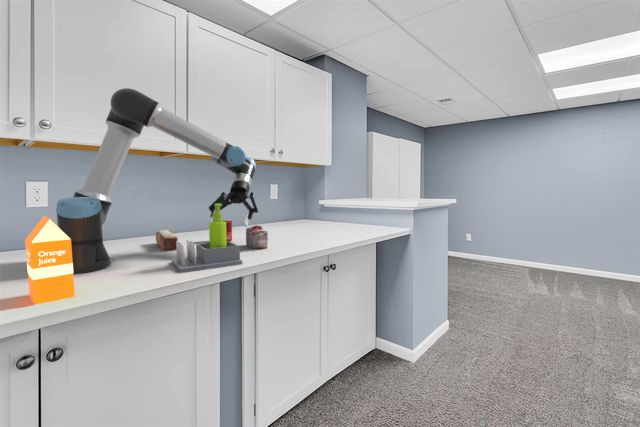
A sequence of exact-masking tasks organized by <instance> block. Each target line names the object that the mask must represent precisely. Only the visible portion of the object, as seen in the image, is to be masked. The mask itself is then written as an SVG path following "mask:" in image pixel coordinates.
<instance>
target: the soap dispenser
mask: <svg viewBox="0 0 640 427" xmlns="http://www.w3.org/2000/svg"><path fill="white" fill-rule="evenodd" d="M214 205H215V212H214V213H213V222H210V221H209V222H208V227H209V228H208V229H209V231H208V233H209V234H208V235H209V236H208V238H209V243H210V249H212V248H221V247H227V239H226V222H223V218H224V217H223V212H222V211H221V210H220V206H222V204H214Z"/></svg>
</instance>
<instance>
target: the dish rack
mask: <svg viewBox="0 0 640 427" xmlns="http://www.w3.org/2000/svg"><path fill="white" fill-rule="evenodd" d="M185 247H186V248H185ZM240 248H241V247H240V245H238V244H237V243H235V242H232V241H227V247H221V248H212V249H210V242H205V243H194V242H192V241H191V240H190V239H187V240H186V246H185V244H183V243H181V241H179V240H178V241H176V258H172V259H171V264H172V265H173V266H174V267H175V269H176V270H177V271H178V272H179V273H180V274H182V273H183V274H184V273H191V272H198V271H204V270H210V269H218V268H224V267H232V266H239V265H243V260H242V259H241V257H240V256H241V252H240V250H241V249H240ZM186 255H187V256H186Z"/></svg>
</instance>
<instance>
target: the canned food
mask: <svg viewBox="0 0 640 427" xmlns="http://www.w3.org/2000/svg"><path fill="white" fill-rule="evenodd" d="M223 222H226V239H227V241H230V242H232V241H233V222H232V218H230V217H229V218H228V217H226V218H225V217H223Z"/></svg>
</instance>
